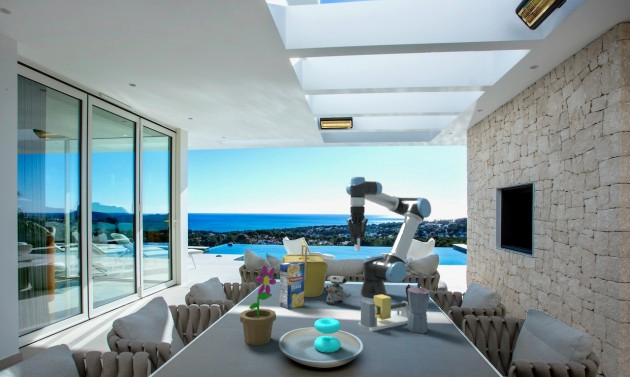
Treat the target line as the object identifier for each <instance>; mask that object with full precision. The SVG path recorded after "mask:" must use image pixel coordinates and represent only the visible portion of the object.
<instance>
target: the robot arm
mask: <svg viewBox="0 0 630 377" xmlns="http://www.w3.org/2000/svg"><path fill="white" fill-rule="evenodd" d="M345 191H346V193H347V195H349V196H350V208H349V209H350V212H349V213H350V216H349V218H348V219H347V218H346V220H345V221H346V223H347V226H348V230H349V236H350V238H352V239H353V245H354V248H353V249H354V251H355V252H360V251H361V245H362V238H364V237H365V234H366V228H367V224H368V222H369V219H368V218H366V217H365V209H366V208H365V205H366V201H368V202H370V203H371V202H372V203H375V204H376V205H379V206H382V207H384V208H386V209H388V211H390V212H393V213H395V214H397V215H400V216H404V219H403V222H402V224H401V227H400V229H399V231H398V234H397V235H396V239H395V241H394V243H393V244H392V247H391V249H390V252H389V253H387V254H386V255H385V257H384V255H381V254H380V255H367V256H364V259H363V282H362V286H361V288H360V295H361V296H362V297H367V298H370V299H371V298H373V299H374V296H375V295H381V294H383V295H386V296H387V289H386V285H385V283H384V282H387V281H388V283H389V282H390V283H395V284H396V283H400V282H402V281H403V280H405V277H406V275H407V266H406V260H405V258H406V256H407V253H408V251H409V249H410V246H411V243H412V241H413V238H414V237H415V234H416V232H417V229H418V227H419V225H420V224H422V223H423V222H424V219H427V218H428V217H430V216H431V214H432V207H431V206H432V205H431V203H430V201H429V200H428V199H427V198H426V197H398V196H395V195H392V196H391V195H389V194H387V193H384V192H383V185H382V183H381V182H379V181H377V180H375V181H373V180H372V181H368V180H367V181H366V178H365V176H352V177H351V178H350V182H349V183H348V184H347V185H346V187H345Z"/></svg>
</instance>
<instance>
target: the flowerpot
mask: <svg viewBox="0 0 630 377" xmlns="http://www.w3.org/2000/svg"><path fill="white" fill-rule="evenodd" d="M274 272H275V267H274V266H273V267H271V268H269V270H268V268H267V266H266V265H263V266H262V269H261V273H262V276H257V277H255V281H256V283H258V284H259V283H260V285H259V287H258V290H257V291H258V292H257V299H256V302H253V303H251V304H250V306H249V309H248V310H243V311H242V312H240V313H239V322H240V323H242V328H243V336H244V343H245V344H247V345H251V346H263V345H265V344H266V345H267V344H268V343H270V342H271V340H272V332H273V326H274V324H273V323H274V321H276V320H277V313H276V310H275V311H274V310H272V309H269V308H260V300H262V301H265V300H268V299H269V298H271V297H272V296H273V295H272V293H271V286H270V285H275V284H276V283H277V279H275V278H272V276H273V274H274ZM264 290H265V291H264Z"/></svg>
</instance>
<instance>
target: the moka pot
mask: <svg viewBox="0 0 630 377" xmlns="http://www.w3.org/2000/svg"><path fill="white" fill-rule="evenodd" d="M416 286H417V287H416ZM416 286H414V285H410V284H407V285H406V287H405V294H406V299H407V301H406V302H408V305H409V307H410V311H409V318H408V323H407V324H406V325H407V326H406V328H407V330H408V331H410V332H411V333H416V334H425V333H427V332H428V331H429V325H428V315H427V311H428V309H429V303H430V296H431V290H429V289H428V288H425V287H421V286H422V284H421V283H417V285H416Z"/></svg>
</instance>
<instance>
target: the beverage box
mask: <svg viewBox="0 0 630 377" xmlns="http://www.w3.org/2000/svg"><path fill="white" fill-rule="evenodd" d="M279 266H280V267H279V307H281V308H283V309H286V310H289V309H294V308H298V307H303V306H304V305H305V303H304V302H305V297H304V263H300V262H291V263H283V262H282V263H280V265H279Z"/></svg>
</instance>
